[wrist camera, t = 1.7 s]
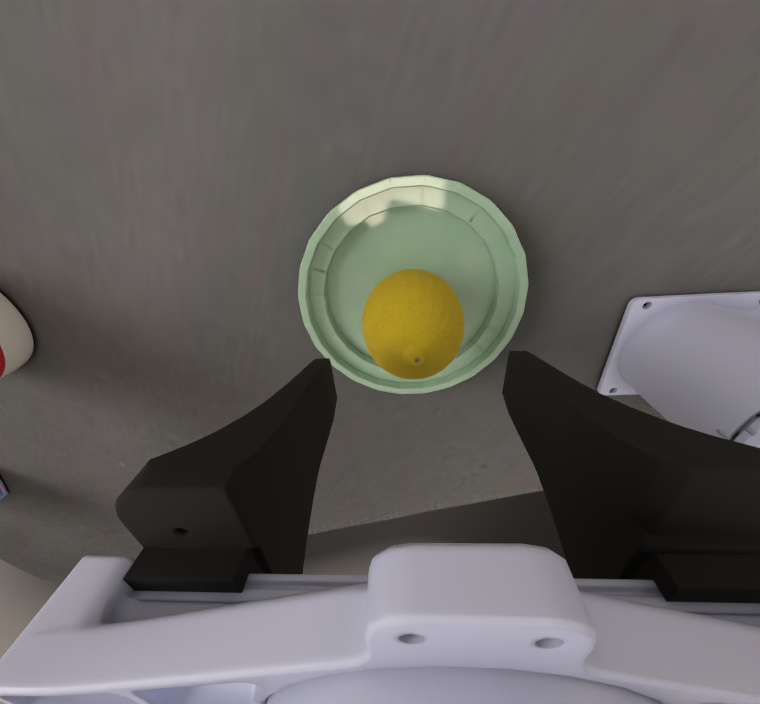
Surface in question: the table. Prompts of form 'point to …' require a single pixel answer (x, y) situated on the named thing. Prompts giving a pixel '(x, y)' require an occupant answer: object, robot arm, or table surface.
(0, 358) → the fruit juice
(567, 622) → the robot arm
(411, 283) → the lemon
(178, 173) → the table surface
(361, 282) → the plate
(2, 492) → the ink cartridge box
